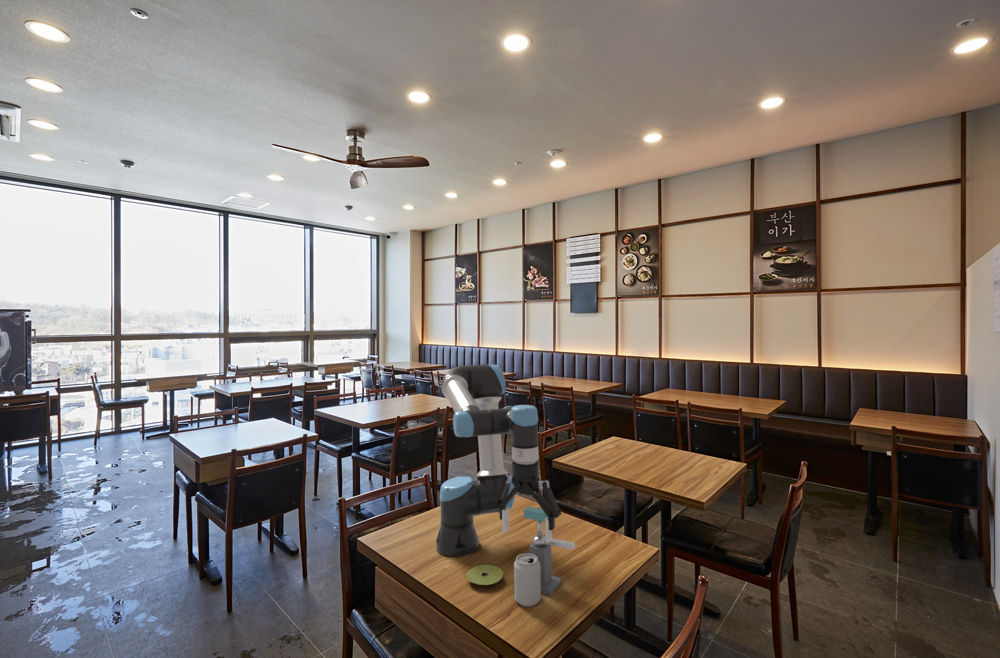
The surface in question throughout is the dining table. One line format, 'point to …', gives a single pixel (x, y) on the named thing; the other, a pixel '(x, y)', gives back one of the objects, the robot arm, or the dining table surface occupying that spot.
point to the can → (527, 580)
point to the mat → (484, 574)
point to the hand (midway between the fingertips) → (526, 536)
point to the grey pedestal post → (545, 568)
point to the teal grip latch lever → (540, 538)
